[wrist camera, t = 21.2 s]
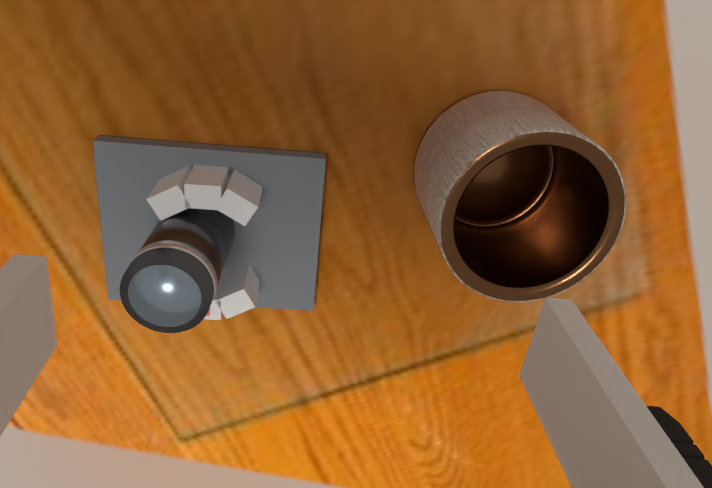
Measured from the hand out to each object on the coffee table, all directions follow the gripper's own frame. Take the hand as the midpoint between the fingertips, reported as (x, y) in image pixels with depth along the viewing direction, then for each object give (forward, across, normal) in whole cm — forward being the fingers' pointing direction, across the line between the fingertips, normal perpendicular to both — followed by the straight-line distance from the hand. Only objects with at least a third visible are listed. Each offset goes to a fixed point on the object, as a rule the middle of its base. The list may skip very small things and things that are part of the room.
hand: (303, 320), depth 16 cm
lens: (+24, -7, -10) cm, 27 cm away
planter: (+26, +13, -4) cm, 29 cm away
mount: (+26, -6, -10) cm, 28 cm away
